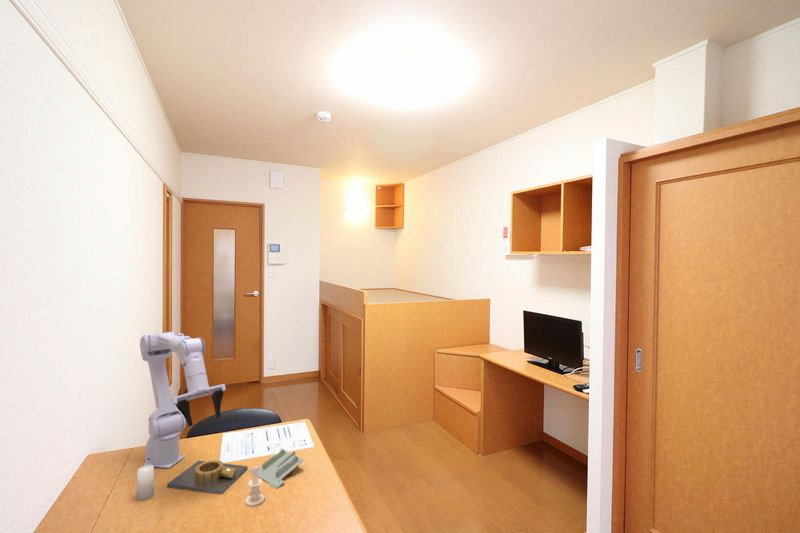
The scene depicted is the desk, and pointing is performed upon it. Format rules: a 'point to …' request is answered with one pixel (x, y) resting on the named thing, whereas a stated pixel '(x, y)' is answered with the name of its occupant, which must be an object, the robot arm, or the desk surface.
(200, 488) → the fitting plate
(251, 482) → the beige turned upright piece
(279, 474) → the metal bracket
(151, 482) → the white rounded block
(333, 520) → the desk surface
